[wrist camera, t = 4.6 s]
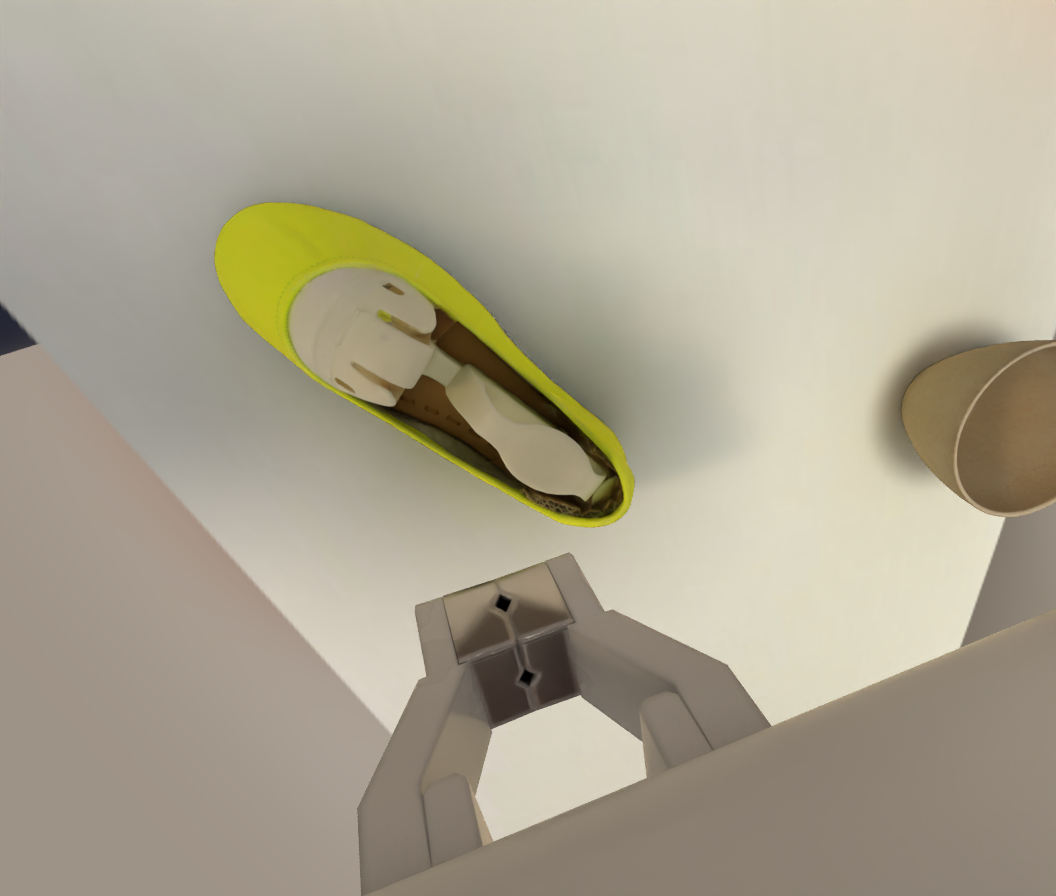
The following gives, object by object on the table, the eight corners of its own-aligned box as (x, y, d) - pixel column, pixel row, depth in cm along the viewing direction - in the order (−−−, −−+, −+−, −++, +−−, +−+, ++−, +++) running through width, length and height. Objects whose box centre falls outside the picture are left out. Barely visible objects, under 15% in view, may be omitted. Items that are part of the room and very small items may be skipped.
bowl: (1033, 358, 40) (1156, 385, 33) (943, 489, 42) (1041, 539, 35) (925, 294, 37) (1037, 310, 30) (836, 439, 39) (920, 483, 33)
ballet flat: (282, 144, 28) (233, 115, 21) (647, 424, 37) (706, 476, 29) (195, 285, 30) (119, 305, 22) (565, 524, 38) (600, 598, 31)
